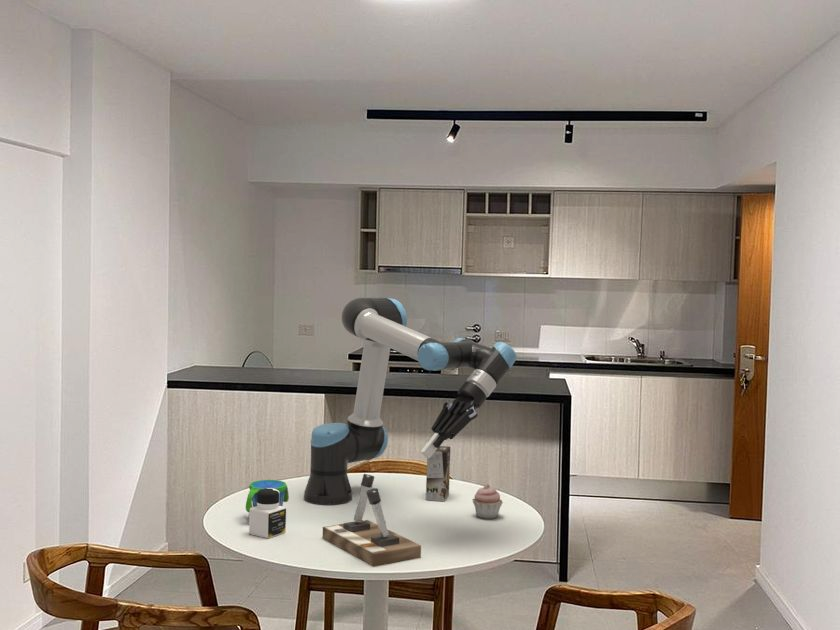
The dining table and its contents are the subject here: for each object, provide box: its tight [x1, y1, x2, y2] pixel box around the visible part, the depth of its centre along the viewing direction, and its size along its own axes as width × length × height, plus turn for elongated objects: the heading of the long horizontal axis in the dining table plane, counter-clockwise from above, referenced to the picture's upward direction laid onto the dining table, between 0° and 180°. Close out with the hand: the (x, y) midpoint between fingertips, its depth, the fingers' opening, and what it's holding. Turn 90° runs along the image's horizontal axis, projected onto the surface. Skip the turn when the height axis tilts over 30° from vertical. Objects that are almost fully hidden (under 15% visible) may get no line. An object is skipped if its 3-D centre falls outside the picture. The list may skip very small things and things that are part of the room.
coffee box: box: [425, 445, 451, 502], centre depth 275 cm, size 9×6×16 cm
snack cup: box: [245, 479, 290, 514], centre depth 245 cm, size 16×10×10 cm
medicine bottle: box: [248, 488, 287, 539], centre depth 231 cm, size 7×7×12 cm
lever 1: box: [353, 473, 375, 522], centre depth 228 cm, size 3×3×12 cm
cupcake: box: [472, 483, 504, 520], centre depth 255 cm, size 9×9×10 cm
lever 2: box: [366, 487, 389, 537], centre depth 215 cm, size 3×3×12 cm
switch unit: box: [322, 519, 422, 567], centre depth 222 cm, size 26×14×4 cm, turn 35°
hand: (424, 454), depth 226 cm, fingers closed
